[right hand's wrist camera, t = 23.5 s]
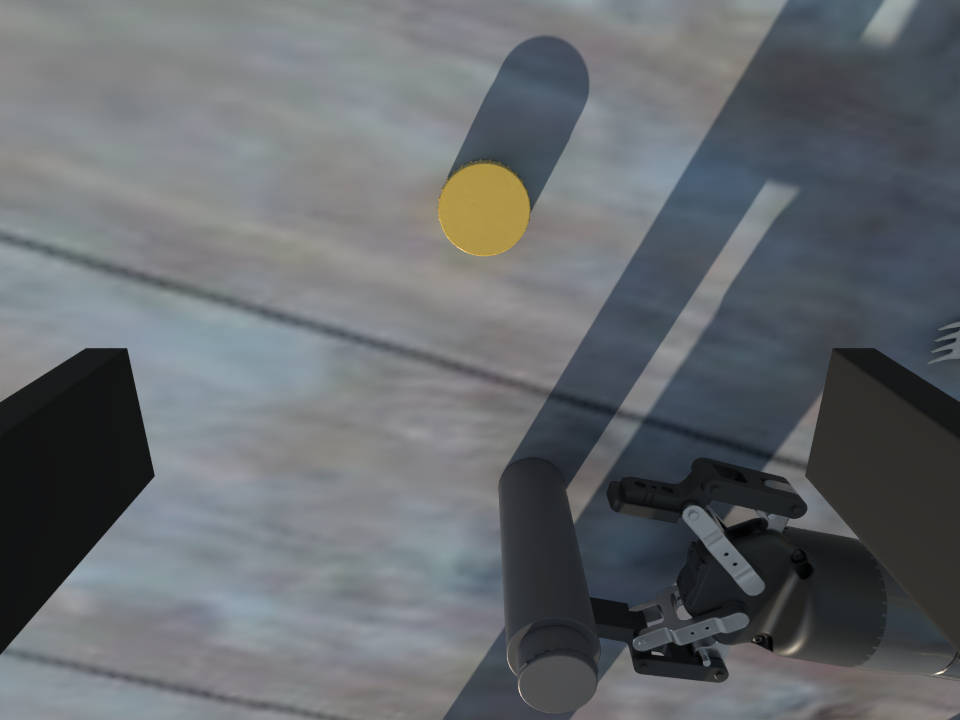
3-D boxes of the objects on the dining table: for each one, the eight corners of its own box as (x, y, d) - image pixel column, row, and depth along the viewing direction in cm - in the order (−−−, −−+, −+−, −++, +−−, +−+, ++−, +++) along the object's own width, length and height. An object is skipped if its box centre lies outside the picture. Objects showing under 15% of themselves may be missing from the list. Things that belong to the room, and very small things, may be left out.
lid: (449, 148, 36) (447, 151, 34) (539, 170, 36) (542, 174, 35) (431, 238, 38) (428, 246, 36) (516, 258, 38) (518, 266, 36)
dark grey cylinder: (577, 477, 44) (627, 673, 29) (539, 524, 45) (569, 734, 30) (522, 446, 43) (545, 632, 28) (485, 495, 44) (489, 696, 29)
